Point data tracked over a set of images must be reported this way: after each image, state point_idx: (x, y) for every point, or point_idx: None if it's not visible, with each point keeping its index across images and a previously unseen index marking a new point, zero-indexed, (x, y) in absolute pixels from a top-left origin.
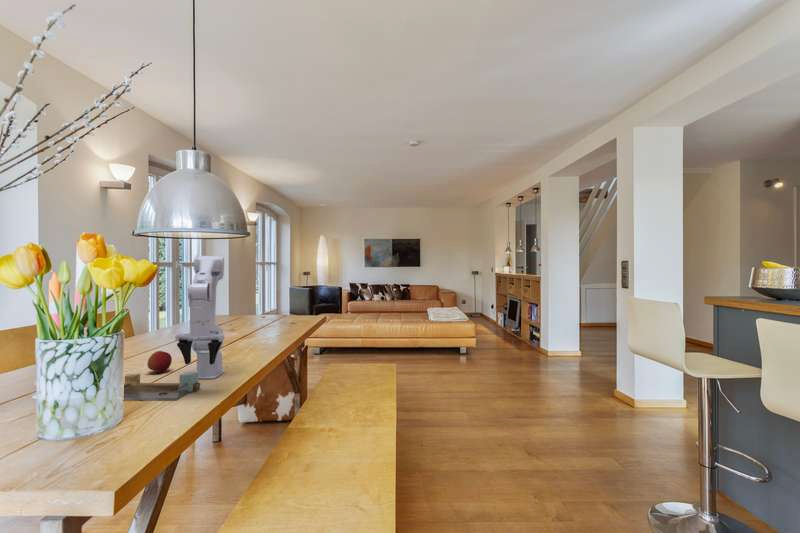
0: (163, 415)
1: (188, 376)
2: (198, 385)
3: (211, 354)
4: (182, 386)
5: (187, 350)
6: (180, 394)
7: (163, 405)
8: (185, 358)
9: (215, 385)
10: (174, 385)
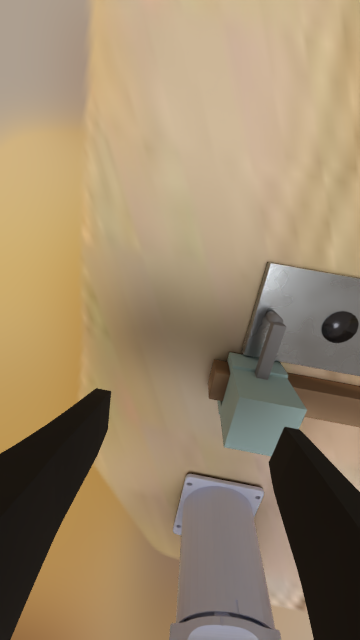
0: (287, 32)
1: (258, 396)
2: (211, 382)
3: (31, 445)
4: (268, 337)
5: (352, 591)
6: (264, 307)
7: (313, 202)
8: (323, 466)
9: (164, 412)
10: (309, 389)
